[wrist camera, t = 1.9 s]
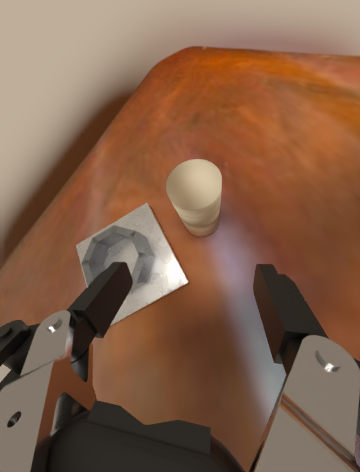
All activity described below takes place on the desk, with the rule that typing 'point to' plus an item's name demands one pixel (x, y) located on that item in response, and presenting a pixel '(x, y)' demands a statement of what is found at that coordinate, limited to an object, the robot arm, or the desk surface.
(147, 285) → the socket plate
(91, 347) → the robot arm
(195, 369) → the desk surface
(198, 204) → the cream rounded cylinder
